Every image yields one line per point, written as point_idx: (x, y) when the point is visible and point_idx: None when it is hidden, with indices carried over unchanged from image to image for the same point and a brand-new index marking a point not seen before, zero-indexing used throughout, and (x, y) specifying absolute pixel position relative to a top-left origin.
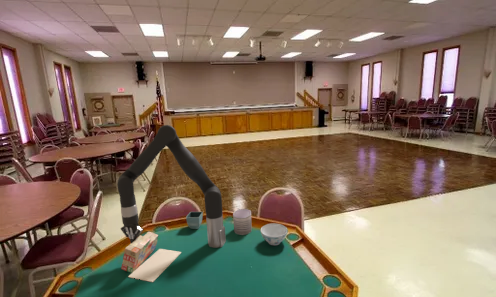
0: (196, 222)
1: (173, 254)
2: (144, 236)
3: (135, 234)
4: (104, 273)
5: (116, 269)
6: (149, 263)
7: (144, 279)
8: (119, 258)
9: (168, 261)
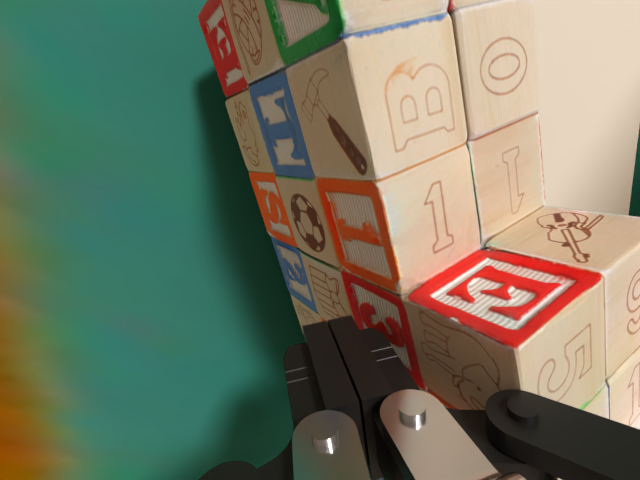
0: None
1: (601, 23)
2: (391, 137)
3: (456, 474)
4: (202, 471)
5: (246, 405)
6: None
7: None
8: (96, 307)
9: (608, 143)
